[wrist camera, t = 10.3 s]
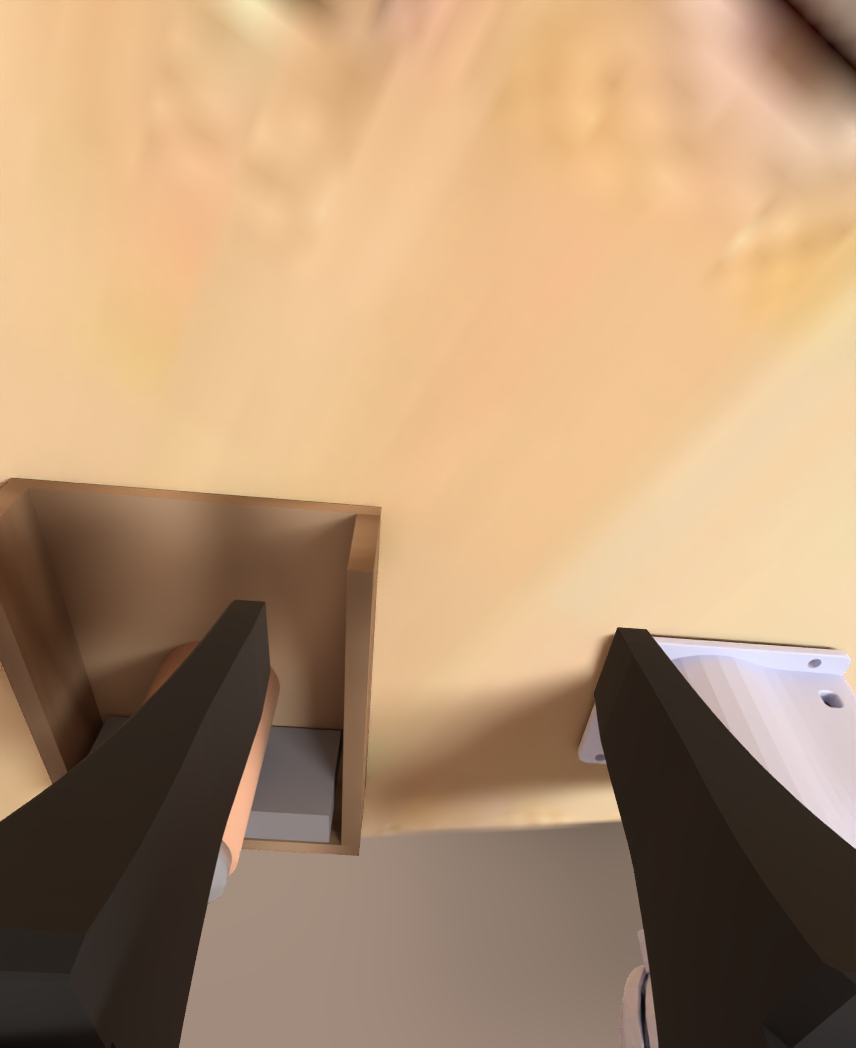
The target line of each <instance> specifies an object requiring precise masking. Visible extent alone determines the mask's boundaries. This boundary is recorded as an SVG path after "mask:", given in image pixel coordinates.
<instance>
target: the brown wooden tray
mask: <svg viewBox="0 0 856 1048" xmlns="http://www.w3.org/2000/svg"><path fill="white" fill-rule="evenodd" d="M380 522H381V507H371V506H358V505H346V504H333V503H321V502H308V501H295V500H283V499H270V498H258V497H245V496H232V495H220V494H207V493H194V492H182V491H169V490H157V489H144V488H131V487H119V486H106V485H94V484H81V483H68V482H56V481H43V480H30V479H18V478H11V479H10V480H9V481H8V482H7V483H6V484H5V485H4V486H3V487H2V488H1V489H0V660H1V662H2V665H3V667H4V670H5V672H6V674H7V677H8V679H9V681H10V684H11V686H12V689H13V691H14V693H15V696H16V698H17V700H18V703H19V705H20V708H21V710H22V712H23V715H24V717H25V719H26V722H27V724H28V727H29V729H30V731H31V734H32V736H33V739H34V741H35V743H36V746H37V748H38V750H39V753H40V755H41V758H42V760H43V762H44V765H45V767H46V769H47V772H48V774H49V777H50V779H51V781H52V784H53V783H54V782H56V781H57V780H58V779H60V778H61V777H62V776H63V775H65V774H66V773H67V772H68V771H70V770H71V769H72V768H73V767H74V766H76V765H77V764H78V763H79V762H81V761H82V760H83V759H84V758H85V757H87V756H88V755H89V753H90V751H91V749H92V747H93V745H94V743H95V741H96V739H97V737H98V735H99V733H100V731H101V729H102V727H103V725H104V723H105V721H106V719H107V717H108V716H119V717H131V716H132V715H133V714H134V713H135V712H136V711H137V710H138V709H139V708H140V707H141V706H142V704H143V702H144V700H145V697H146V695H147V693H148V691H149V689H150V686H151V684H152V682H153V680H154V678H155V675H156V673H157V671H158V669H159V667H160V664H161V662H162V660H163V659H164V657H165V656H166V655H167V654H168V653H169V652H170V651H172V650H173V649H175V648H176V647H178V646H180V645H183V644H186V643H190V642H194V641H201V640H202V639H203V638H204V636H205V635H206V634H207V633H208V631H209V630H210V629H211V628H212V626H213V625H214V624H215V622H216V621H217V620H218V619H219V617H220V616H221V615H222V613H223V612H224V611H225V609H226V608H227V607H228V605H229V604H230V603H231V602H232V601H234V600H248V601H262V602H265V603H266V616H267V629H268V643H269V656H270V666H271V667H272V668H273V670H274V671H275V673H276V675H277V677H278V679H279V683H280V694H279V698H278V702H277V706H276V710H275V714H274V718H273V722H272V726H273V727H288V728H304V729H319V730H335V731H341V759H340V766H339V773H338V781H337V788H336V795H335V802H334V810H333V817H332V824H331V832H330V839H329V842H312V841H294V840H277V839H260V838H244V840H243V844H242V848H241V849H251V850H269V851H286V852H303V853H321V854H339V855H356V856H358V855H359V848H360V837H361V827H362V817H363V807H364V797H365V786H366V769H367V751H368V734H369V716H370V698H371V681H372V663H373V645H374V628H375V610H376V592H377V575H378V557H379V539H380Z"/></svg>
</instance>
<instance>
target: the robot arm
mask: <svg viewBox="0 0 856 1048" xmlns="http://www.w3.org/2000/svg"><path fill="white" fill-rule="evenodd" d="M850 664H851V659H850V657H849V656H848V654H847V653H846V652H844V651H841V650H830V649H816V648H802V647H789V646H775V645H761V644H747V643H733V642H719V641H706V640H692V639H678V638H664V637H652V635H651V634H650V633H649V632H648V630H647V629H633V628H620V627H618V628H617V630H616V633H615V636H614V639H613V642H612V644H611V647H610V650H609V653H608V656H607V658H606V661H605V664H604V667H603V670H602V672H601V675H600V678H599V681H598V684H597V687H596V689H595V692H594V697H595V704H594V707H593V709H592V712H591V715H590V718H589V720H588V723H587V726H586V729H585V731H584V734H583V737H582V740H581V743H580V745H579V748H578V756H579V759H580V760H581V761H583V762H585V763H597V764H607V768H608V771H609V775H610V779H611V783H612V786H613V790H614V794H615V798H616V801H617V805H618V809H619V812H620V816H621V820H622V823H623V827H624V831H625V834H626V838H627V841H628V846H629V850H630V855H631V859H632V864H633V868H634V873H635V880H636V886H637V892H638V898H639V904H640V910H641V916H642V923H643V929H642V930H640V931H638V933H637V935H638V939H639V943H640V948H641V952H642V957H643V961H644V965H642V966H638V967H637V968H635V969H634V970H633V971H632V972H631V973H630V975H629V977H628V979H627V981H626V985H625V989H624V993H623V1002H622V1006H621V1011H620V1022H619V1023H620V1024H619V1034H620V1047H621V1048H856V695H855V693H854V692H853V690H852V688H851V687H850V685H849V684H848V682H847V681H846V679H845V678H844V676H843V675H844V674H845V672H846V671H847V669H848V668H849V666H850ZM270 672H271V669H270V656H269V643H268V629H267V616H266V603H265V602H262V601H248V600H234V601H232V602H231V603H230V604H229V605H228V607H227V608H226V609H225V611H224V612H223V613H222V615H221V616H220V617H219V619H218V620H217V621H216V622H215V624H214V625H213V626H212V628H211V629H210V630H209V631H208V633H207V634H206V635H205V636H204V638H203V639H202V640H201V641H200V642H199V644H198V645H197V646H196V647H195V649H194V650H193V651H192V652H191V653H190V654H189V655H188V657H187V658H186V659H185V660H184V661H183V662H182V663H181V665H180V666H179V667H178V668H177V669H176V670H175V671H174V673H173V674H172V675H171V676H170V677H169V678H168V679H167V680H166V681H165V683H164V684H163V685H162V686H161V687H160V688H159V689H158V690H157V691H156V692H155V693H154V694H153V695H152V696H151V697H150V698H149V699H148V700H147V701H146V702H145V703H144V704H143V705H142V706H141V707H140V708H139V709H138V710H137V711H136V712H135V713H134V714H133V715H132V716H131V717H130V718H129V719H128V720H127V721H126V722H125V723H124V724H123V725H122V726H121V727H120V728H119V729H117V730H116V731H115V732H114V733H113V734H112V735H111V736H110V737H109V738H107V739H106V740H105V741H104V742H103V743H102V744H101V745H100V746H98V747H97V748H96V749H95V750H94V751H93V752H92V753H90V754H89V755H88V756H87V757H85V758H84V759H83V760H82V761H81V762H79V763H78V764H77V765H76V766H74V767H73V768H72V769H71V770H70V771H68V772H67V773H66V774H65V775H63V776H62V777H61V778H60V779H58V780H57V781H56V782H54V783H53V784H52V785H51V786H49V787H48V788H47V789H45V790H44V791H43V792H41V793H40V794H39V795H37V796H36V797H34V798H33V799H32V800H30V801H29V802H27V803H26V804H25V805H23V806H22V807H20V808H19V809H17V810H16V811H15V812H13V813H12V814H10V815H9V816H7V817H6V818H5V819H3V820H2V821H0V1048H179V1043H180V1038H181V1032H182V1027H183V1021H184V1016H185V1011H186V1006H187V1001H188V996H189V991H190V986H191V981H192V976H193V971H194V965H195V961H196V956H197V951H198V946H199V941H200V937H201V932H202V927H203V922H204V918H205V913H206V909H207V904H208V899H209V895H210V890H211V886H212V881H213V877H214V873H215V868H216V864H217V859H218V855H219V851H220V846H221V842H222V839H223V835H224V832H225V828H226V825H227V821H228V818H229V815H230V812H231V809H232V806H233V803H234V800H235V797H236V794H237V791H238V788H239V785H240V782H241V779H242V776H243V772H244V769H245V766H246V763H247V760H248V757H249V754H250V751H251V748H252V745H253V742H254V739H255V736H256V733H257V730H258V726H259V723H260V720H261V716H262V712H263V707H264V702H265V697H266V692H267V687H268V682H269V677H270Z"/></svg>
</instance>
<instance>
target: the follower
mask: <svg viewBox="0 0 856 1048" xmlns="http://www.w3.org/2000/svg"><path fill="white" fill-rule="evenodd" d="M129 718H130V717H119V716H108V717H107V719H106V721H105V723H104V725H103V727H102V729H101V731H100V733H99V735H98V737H97V739H96V741H95V743H94V745H93V747H92V749H91V751H90V753H92V752H93V751H94V750H95V749H96V748H97V747H98V746H100V745H101V744H102V743H103V742H104V741H105V740H106V739H107V738H109V737H110V736H111V735H112V734H113V733H114V732H115V731H116V730H117V729H119V728H120V727H121V726H122V725H123V724H124V723H125V722H126V721H127V720H128V719H129ZM90 753H89V754H90ZM340 759H341V731H335V730H319V729H304V728H288V727H273V726H271V730H270V734H269V738H268V742H267V746H266V750H265V754H264V759H263V763H262V767H261V771H260V775H259V779H258V783H257V787H256V791H255V795H254V799H253V803H252V807H251V811H250V815H249V819H248V823H247V828H246V832H245V836H244V838H260V839H277V840H294V841H312V842H329V839H330V832H331V824H332V817H333V810H334V802H335V795H336V788H337V781H338V773H339V766H340Z"/></svg>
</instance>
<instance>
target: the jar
mask: <svg viewBox="0 0 856 1048" xmlns="http://www.w3.org/2000/svg"><path fill="white" fill-rule="evenodd" d="M199 642H200V641H194V642H190V643H186V644H183V645H180V646H178V647H176V648H175V649H173V650H172V651H170V652H169V653H168V654H167V655H166V656H165V657H164V659H163V660H162V662H161V664H160V667H159V669H158V671H157V673H156V675H155V678H154V680H153V682H152V684H151V686H150V689H149V691H148V693H147V695H146V697H145V700H144V702H143V704H144V703H145V702H146V701H147V700H148V699H149V698H150V697H151V696H152V695H153V694H154V693H155V692H156V691H157V690H158V689H159V688H160V687H161V686H162V685H163V684H164V683H165V681H166V680H167V679H168V678H169V677H170V676H171V675H172V674H173V673H174V671H175V670H176V669H177V668H178V667H179V666H180V665H181V663H182V662H183V661H184V660H185V659H186V658H187V657H188V655H189V654H190V653H191V652H192V651H193V650H194V649H195V647H196V646H197V645H198V644H199ZM270 669H271V672H270V677H269V682H268V687H267V692H266V697H265V702H264V707H263V712H262V716H261V720H260V723H259V726H258V730H257V733H256V736H255V739H254V742H253V745H252V748H251V751H250V754H249V757H248V760H247V763H246V766H245V769H244V772H243V776H242V779H241V782H240V785H239V788H238V791H237V794H236V797H235V800H234V803H233V806H232V809H231V812H230V815H229V818H228V821H227V825H226V828H225V832H224V835H223V839H222V842H221V846H220V851H219V855H218V859H217V864H216V868H215V873H214V877H213V881H212V886H211V890H210V895H209V899H208V904H209V903H211V902H213V901H215V900H216V899H218V898H219V897H220V896H221V895H222V893H223V892H224V890H225V886H226V883H227V879H228V876H230V875H231V874H232V873H233V872H234V870H235V869H236V866H237V864H238V860H239V856H240V852H241V848H242V844H243V840H244V836H245V832H246V828H247V823H248V819H249V815H250V811H251V807H252V803H253V799H254V795H255V791H256V787H257V783H258V779H259V775H260V771H261V767H262V763H263V759H264V754H265V750H266V746H267V742H268V738H269V734H270V730H271V726H272V722H273V718H274V714H275V710H276V706H277V702H278V698H279V694H280V683H279V679H278V677H277V675H276V673H275V671H274V670H273V668H272V667H271V666H270ZM143 704H142V705H143Z"/></svg>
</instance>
